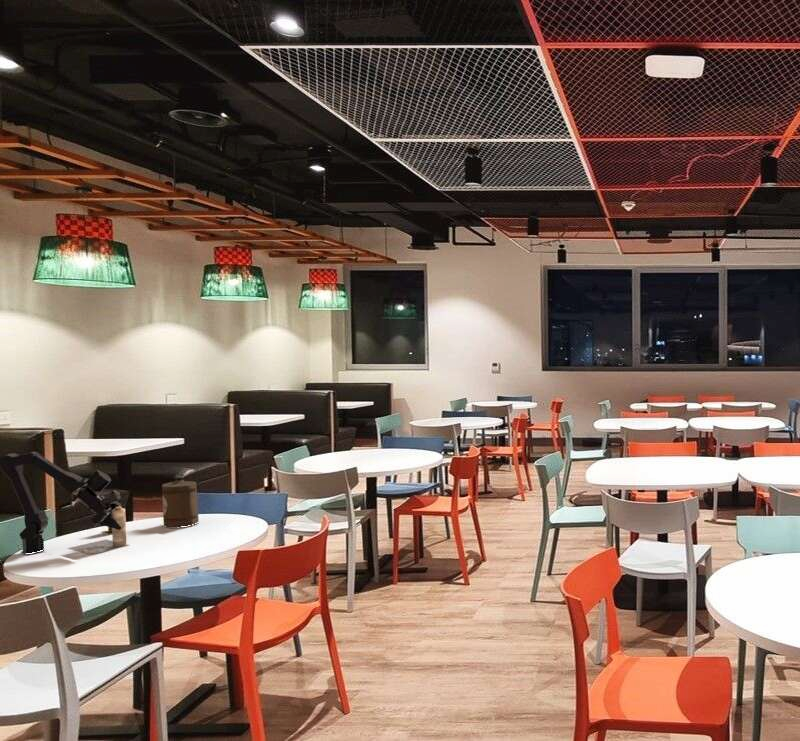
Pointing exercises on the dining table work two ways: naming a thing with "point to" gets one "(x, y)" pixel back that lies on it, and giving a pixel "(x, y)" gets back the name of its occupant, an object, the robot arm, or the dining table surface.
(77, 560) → the dining table surface
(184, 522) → the wooden container
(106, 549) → the baseplate
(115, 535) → the beige wooden pepper mill
